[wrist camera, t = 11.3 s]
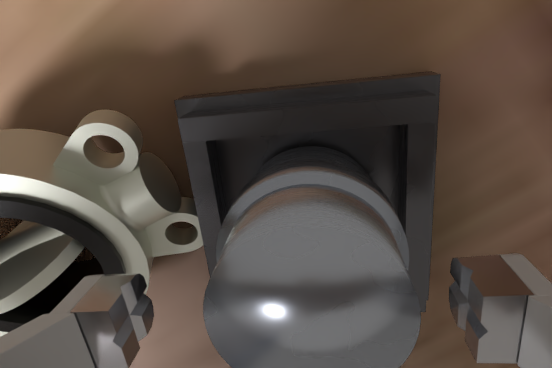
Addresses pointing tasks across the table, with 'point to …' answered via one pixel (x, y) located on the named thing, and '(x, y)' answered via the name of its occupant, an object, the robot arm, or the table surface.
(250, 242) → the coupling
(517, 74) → the table surface
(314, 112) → the flange socket
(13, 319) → the butterfly valve
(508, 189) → the table surface
